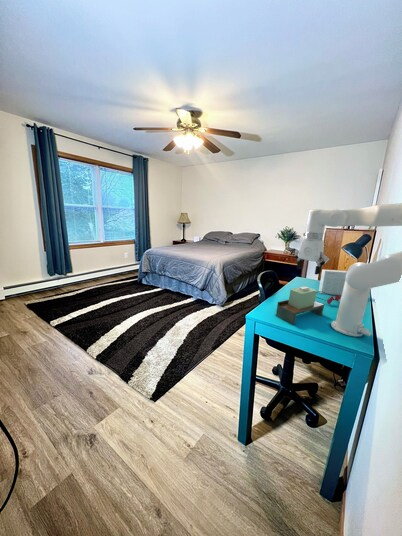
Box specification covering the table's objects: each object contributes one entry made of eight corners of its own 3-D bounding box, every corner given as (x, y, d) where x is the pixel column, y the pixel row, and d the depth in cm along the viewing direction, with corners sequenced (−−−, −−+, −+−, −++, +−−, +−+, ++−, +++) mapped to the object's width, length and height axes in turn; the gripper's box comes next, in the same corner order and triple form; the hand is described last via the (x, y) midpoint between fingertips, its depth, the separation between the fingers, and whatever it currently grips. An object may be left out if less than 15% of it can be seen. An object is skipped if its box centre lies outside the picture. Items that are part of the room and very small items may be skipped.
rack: (322, 315, 114) (325, 301, 112) (292, 324, 102) (295, 309, 100) (305, 307, 122) (307, 295, 120) (275, 315, 110) (277, 301, 108)
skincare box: (349, 293, 150) (354, 271, 146) (353, 296, 144) (359, 273, 140) (317, 290, 151) (322, 268, 147) (321, 293, 146) (325, 271, 142)
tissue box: (314, 305, 111) (317, 288, 108) (299, 309, 105) (302, 291, 102) (302, 300, 116) (305, 284, 114) (287, 304, 110) (290, 287, 108)
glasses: (327, 306, 126) (329, 298, 125) (302, 296, 140) (303, 288, 138) (340, 302, 133) (342, 294, 132) (315, 293, 147) (316, 286, 145)
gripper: (292, 234, 107) (287, 268, 111) (327, 238, 93) (320, 277, 97) (302, 234, 111) (297, 266, 115) (337, 238, 96) (329, 275, 101)
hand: (307, 271), depth 106 cm, fingers open, 9 cm apart
